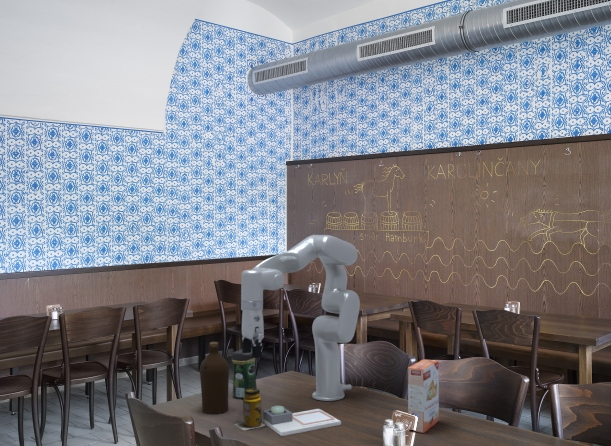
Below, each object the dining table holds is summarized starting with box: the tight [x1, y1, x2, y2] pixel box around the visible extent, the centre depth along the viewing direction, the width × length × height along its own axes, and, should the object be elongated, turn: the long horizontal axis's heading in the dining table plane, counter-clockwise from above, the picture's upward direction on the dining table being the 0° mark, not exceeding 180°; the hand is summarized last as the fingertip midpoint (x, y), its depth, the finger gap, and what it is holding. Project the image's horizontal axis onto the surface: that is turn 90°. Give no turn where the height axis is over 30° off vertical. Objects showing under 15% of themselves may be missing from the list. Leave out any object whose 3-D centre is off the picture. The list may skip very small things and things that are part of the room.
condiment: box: [234, 388, 267, 431], centre depth 213 cm, size 7×8×12 cm
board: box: [262, 407, 342, 437], centre depth 213 cm, size 22×16×4 cm
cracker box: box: [407, 358, 440, 434], centre depth 208 cm, size 14×6×21 cm, turn 148°
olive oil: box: [199, 341, 230, 415], centre depth 230 cm, size 11×11×25 cm
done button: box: [270, 405, 285, 415], centre depth 214 cm, size 4×4×3 cm
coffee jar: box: [231, 348, 258, 399], centre depth 248 cm, size 10×8×19 cm
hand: (251, 355), depth 216 cm, fingers open, 9 cm apart
